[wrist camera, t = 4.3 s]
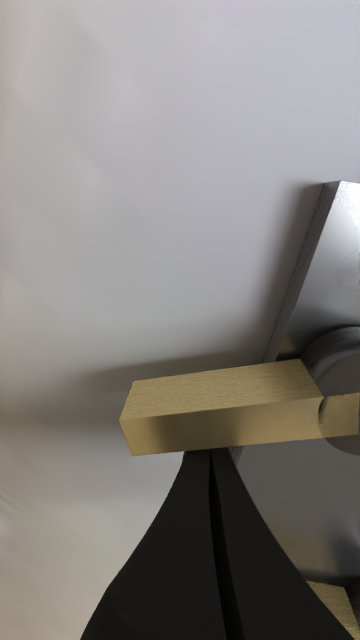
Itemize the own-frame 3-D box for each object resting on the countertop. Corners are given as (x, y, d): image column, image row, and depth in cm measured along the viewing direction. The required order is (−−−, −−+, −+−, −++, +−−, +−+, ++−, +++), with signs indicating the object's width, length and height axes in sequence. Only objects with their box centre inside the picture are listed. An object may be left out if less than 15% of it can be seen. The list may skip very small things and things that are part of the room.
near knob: (403, 319, 10) (457, 350, 8) (395, 404, 11) (438, 451, 9) (126, 359, 11) (110, 395, 9) (149, 430, 12) (138, 476, 10)
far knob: (413, 589, 15) (445, 648, 13) (383, 622, 17) (407, 679, 15) (235, 556, 15) (240, 610, 13) (219, 591, 17) (222, 644, 15)
